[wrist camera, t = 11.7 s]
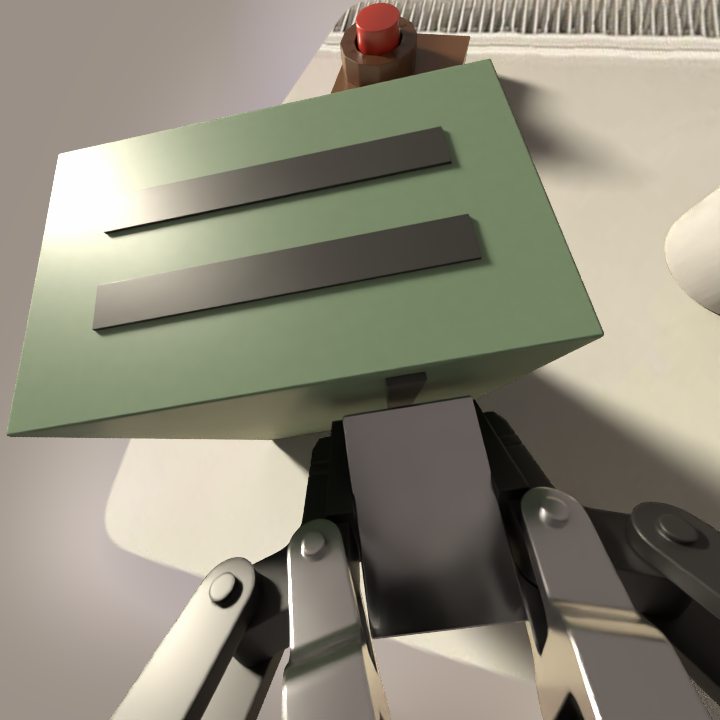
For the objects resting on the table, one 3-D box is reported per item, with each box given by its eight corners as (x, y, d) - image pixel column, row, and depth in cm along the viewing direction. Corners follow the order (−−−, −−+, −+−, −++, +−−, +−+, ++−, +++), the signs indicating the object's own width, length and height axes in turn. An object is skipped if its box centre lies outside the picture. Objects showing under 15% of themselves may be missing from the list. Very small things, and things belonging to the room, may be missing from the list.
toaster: (270, 442, 21) (-3, 446, 6) (263, 331, 23) (55, 151, 9) (452, 413, 20) (613, 344, 6) (426, 302, 22) (491, 53, 8)
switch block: (333, 122, 29) (324, 72, 25) (358, 58, 31) (353, 3, 27) (446, 134, 27) (456, 82, 23) (464, 65, 29) (476, 7, 25)
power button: (353, 57, 25) (350, 30, 24) (364, 30, 26) (362, 1, 25) (393, 60, 25) (393, 32, 23) (403, 31, 26) (404, 3, 24)
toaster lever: (375, 595, 8) (370, 641, 6) (351, 420, 10) (341, 415, 8) (498, 579, 8) (531, 622, 6) (455, 403, 10) (471, 394, 8)
